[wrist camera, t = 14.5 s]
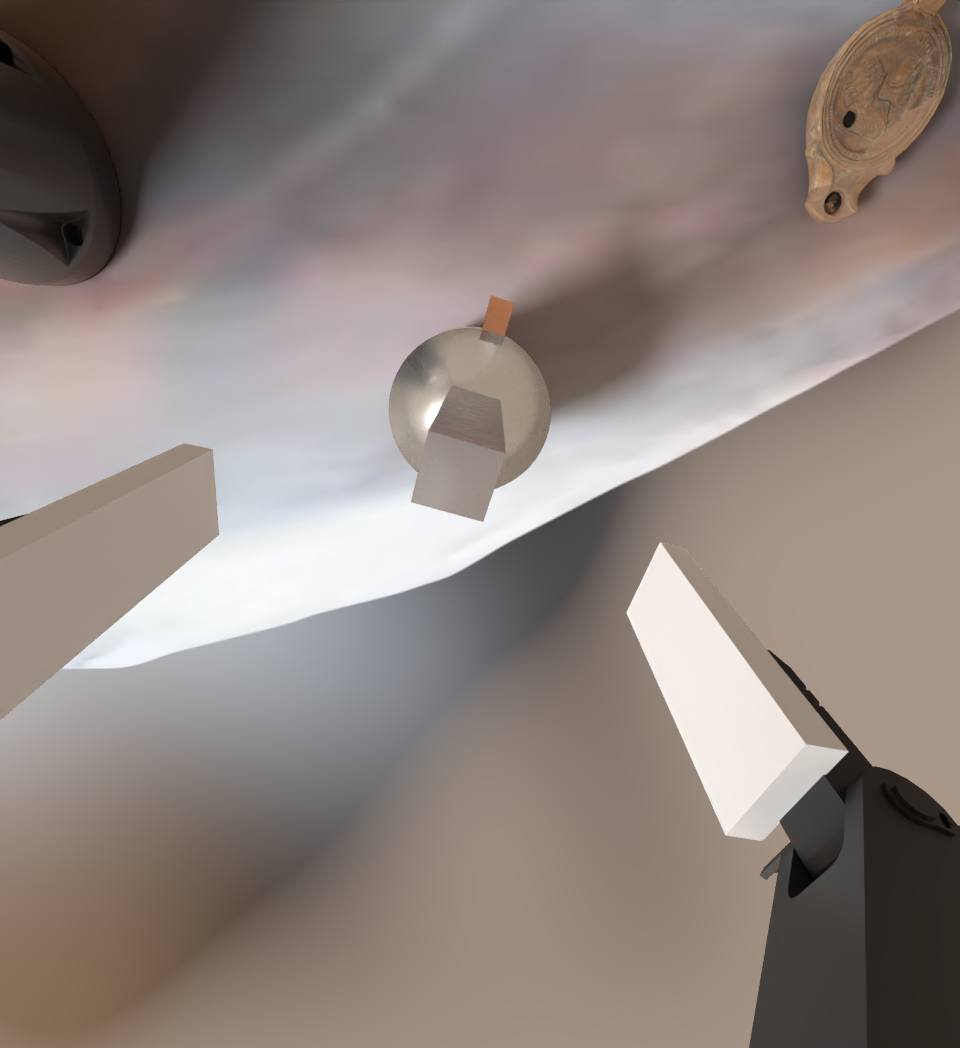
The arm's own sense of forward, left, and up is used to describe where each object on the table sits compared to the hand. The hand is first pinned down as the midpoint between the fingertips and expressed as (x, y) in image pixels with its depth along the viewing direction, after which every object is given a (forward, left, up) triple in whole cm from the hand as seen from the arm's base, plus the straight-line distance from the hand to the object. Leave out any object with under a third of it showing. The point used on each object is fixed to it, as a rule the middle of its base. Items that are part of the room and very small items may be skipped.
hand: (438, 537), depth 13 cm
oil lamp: (-17, +26, -28) cm, 42 cm away
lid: (-1, 0, -19) cm, 19 cm away
